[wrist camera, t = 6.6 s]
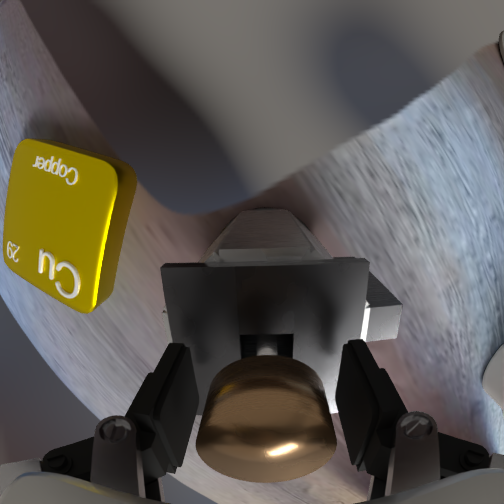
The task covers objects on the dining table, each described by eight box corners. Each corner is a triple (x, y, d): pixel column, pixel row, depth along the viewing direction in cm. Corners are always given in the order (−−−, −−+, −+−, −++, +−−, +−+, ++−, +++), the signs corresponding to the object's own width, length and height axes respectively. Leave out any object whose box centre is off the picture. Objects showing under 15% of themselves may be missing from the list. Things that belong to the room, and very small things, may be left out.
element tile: (144, 167, 24) (120, 166, 20) (112, 304, 28) (90, 324, 23) (41, 137, 23) (14, 135, 19) (23, 255, 27) (-2, 266, 23)
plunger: (217, 235, 20) (122, 361, 6) (312, 233, 19) (407, 356, 5) (224, 320, 21) (178, 489, 7) (310, 318, 21) (354, 487, 7)
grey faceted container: (211, 209, 25) (144, 253, 10) (343, 206, 24) (433, 245, 10) (218, 306, 27) (180, 420, 13) (339, 302, 26) (394, 410, 12)
